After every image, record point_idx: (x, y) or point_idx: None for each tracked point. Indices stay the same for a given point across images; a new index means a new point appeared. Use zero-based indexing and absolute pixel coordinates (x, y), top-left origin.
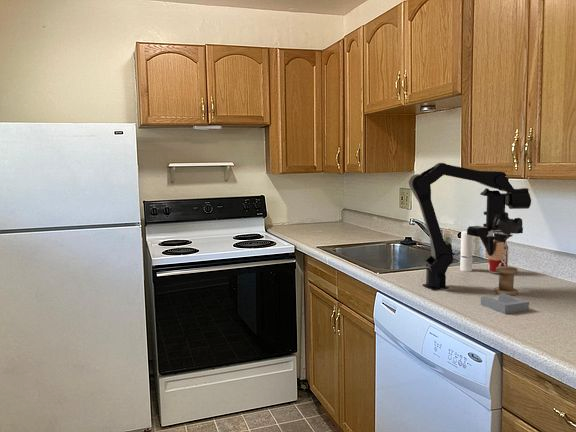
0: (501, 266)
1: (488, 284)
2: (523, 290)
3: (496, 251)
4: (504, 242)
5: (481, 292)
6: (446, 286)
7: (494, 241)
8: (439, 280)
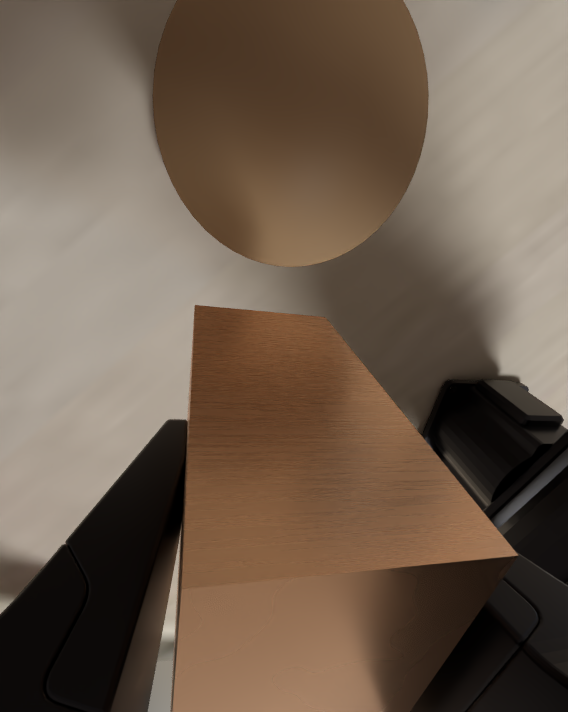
0: (258, 252)
1: None
2: (65, 99)
3: (378, 386)
4: (7, 639)
5: (383, 243)
6: (451, 394)
7: (360, 686)
8: (544, 404)
